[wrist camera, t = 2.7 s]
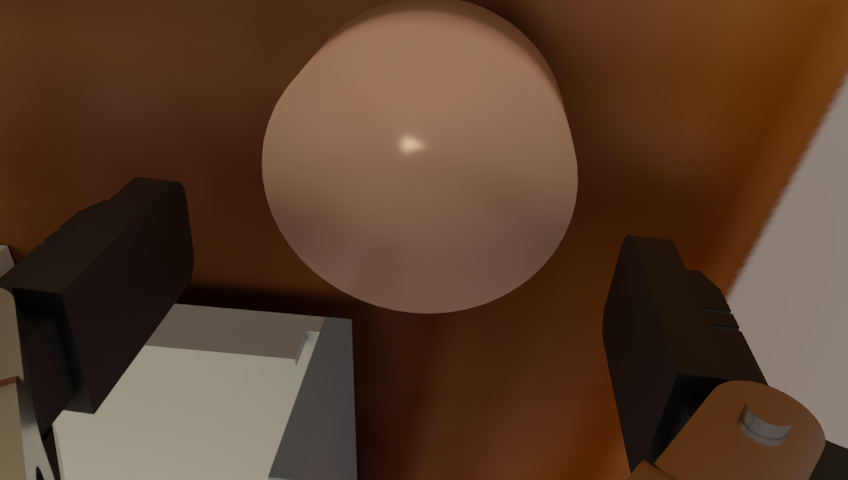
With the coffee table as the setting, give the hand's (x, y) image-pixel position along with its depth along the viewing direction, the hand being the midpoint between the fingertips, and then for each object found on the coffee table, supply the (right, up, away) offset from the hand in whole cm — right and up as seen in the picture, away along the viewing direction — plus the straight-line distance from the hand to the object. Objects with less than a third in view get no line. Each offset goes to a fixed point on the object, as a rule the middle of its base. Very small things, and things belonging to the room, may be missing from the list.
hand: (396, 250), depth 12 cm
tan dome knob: (+1, +2, +2) cm, 3 cm away
